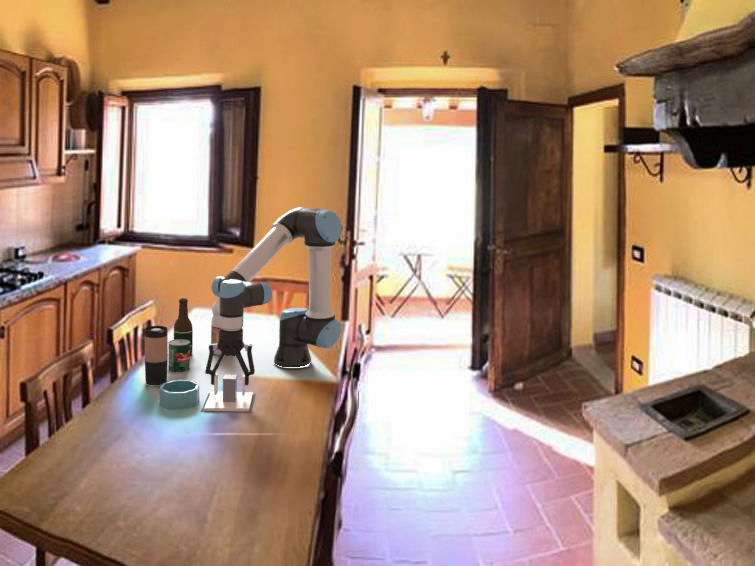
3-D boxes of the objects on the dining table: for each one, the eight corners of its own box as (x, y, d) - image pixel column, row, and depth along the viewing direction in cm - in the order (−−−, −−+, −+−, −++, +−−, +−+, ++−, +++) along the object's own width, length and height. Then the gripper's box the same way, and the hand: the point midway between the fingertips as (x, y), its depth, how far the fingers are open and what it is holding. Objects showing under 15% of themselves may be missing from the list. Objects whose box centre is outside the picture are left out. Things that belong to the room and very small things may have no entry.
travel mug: (148, 378, 205) (148, 325, 202) (170, 378, 206) (170, 326, 202) (141, 385, 198) (141, 330, 194) (164, 386, 198) (164, 331, 195)
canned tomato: (183, 374, 212) (183, 346, 210) (164, 371, 213) (164, 343, 211) (193, 367, 219) (194, 340, 217) (175, 365, 221) (175, 338, 219)
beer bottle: (189, 359, 229) (189, 301, 224) (170, 357, 229) (170, 300, 224) (195, 353, 236) (196, 297, 232) (177, 352, 236) (177, 296, 232)
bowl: (201, 397, 191) (201, 380, 190) (194, 410, 180) (194, 393, 179) (165, 396, 190) (165, 379, 189) (156, 410, 178) (156, 392, 177)
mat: (256, 395, 196) (256, 393, 196) (251, 414, 180) (251, 412, 180) (208, 394, 194) (208, 393, 194) (200, 413, 178) (200, 412, 178)
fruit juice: (219, 347, 246) (220, 284, 241) (238, 351, 243) (239, 287, 238) (206, 353, 238) (207, 288, 233) (224, 356, 234) (226, 291, 229)
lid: (252, 394, 195) (253, 370, 193) (249, 411, 181) (249, 384, 180) (211, 394, 193) (211, 369, 191) (204, 410, 179) (204, 384, 178)
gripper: (265, 325, 188) (262, 390, 192) (199, 323, 185) (198, 389, 189) (263, 331, 180) (261, 398, 184) (195, 329, 177) (194, 397, 181)
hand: (229, 393), depth 186 cm, fingers open, 8 cm apart
